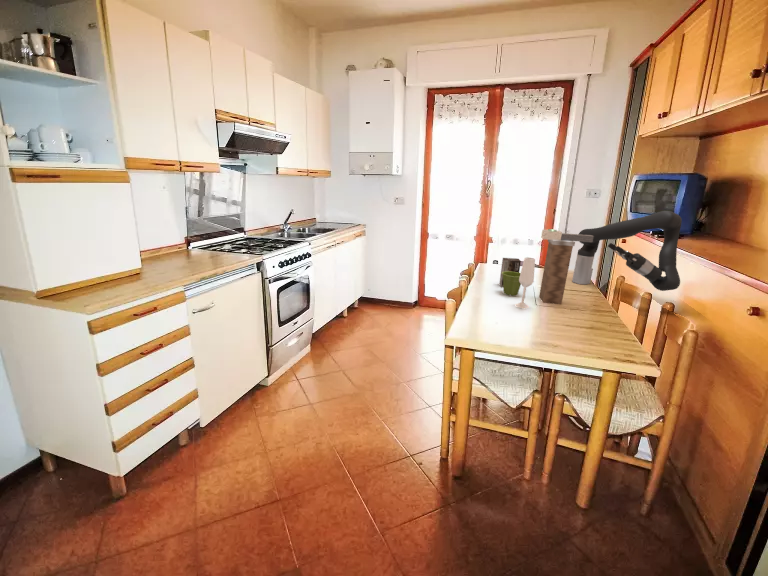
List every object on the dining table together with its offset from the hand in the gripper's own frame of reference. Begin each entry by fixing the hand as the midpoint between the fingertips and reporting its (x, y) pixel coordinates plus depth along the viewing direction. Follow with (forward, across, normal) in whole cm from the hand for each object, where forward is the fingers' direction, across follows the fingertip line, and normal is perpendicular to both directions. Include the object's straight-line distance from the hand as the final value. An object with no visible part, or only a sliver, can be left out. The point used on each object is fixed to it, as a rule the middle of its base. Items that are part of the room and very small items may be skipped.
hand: (612, 246), depth 186 cm
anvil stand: (+6, 0, +39) cm, 39 cm away
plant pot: (+22, -6, +48) cm, 53 cm away
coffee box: (+21, -21, +48) cm, 57 cm away
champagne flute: (+20, +13, +47) cm, 53 cm away
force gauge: (+19, 0, +9) cm, 21 cm away
